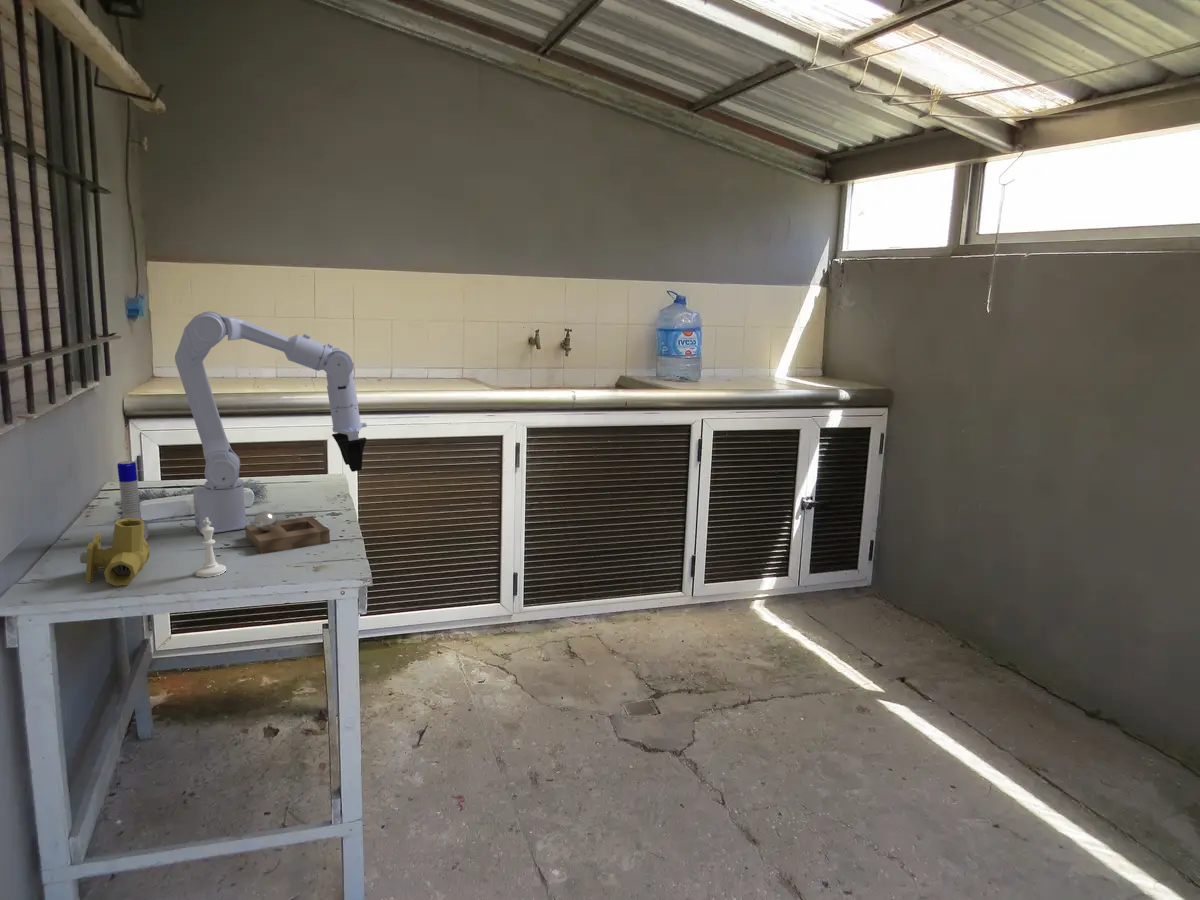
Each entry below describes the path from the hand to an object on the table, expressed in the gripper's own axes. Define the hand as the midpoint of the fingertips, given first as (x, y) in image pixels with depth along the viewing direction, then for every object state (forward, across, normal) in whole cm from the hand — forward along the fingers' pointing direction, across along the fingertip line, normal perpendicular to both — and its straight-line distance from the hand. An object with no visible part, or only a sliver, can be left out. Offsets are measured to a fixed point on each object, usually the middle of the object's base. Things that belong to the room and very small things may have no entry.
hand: (353, 467), depth 176 cm
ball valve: (+7, -22, +45) cm, 50 cm away
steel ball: (+5, -13, +20) cm, 24 cm away
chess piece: (+8, -27, +30) cm, 41 cm away
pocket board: (+10, -13, +16) cm, 23 cm away
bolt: (+7, -1, +43) cm, 44 cm away
